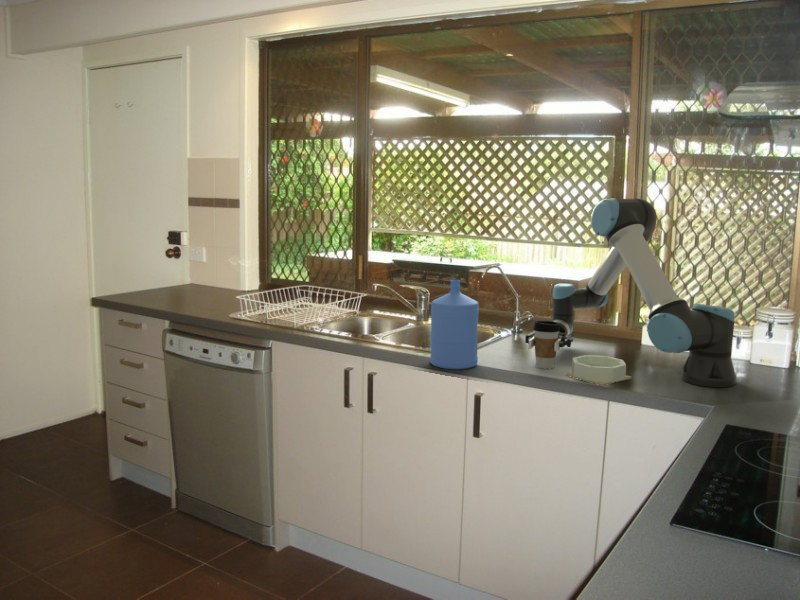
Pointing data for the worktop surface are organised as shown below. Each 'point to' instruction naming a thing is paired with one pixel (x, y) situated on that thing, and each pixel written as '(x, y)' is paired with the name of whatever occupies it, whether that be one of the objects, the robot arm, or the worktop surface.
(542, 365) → the coffee cup
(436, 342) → the water jug
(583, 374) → the bowl
